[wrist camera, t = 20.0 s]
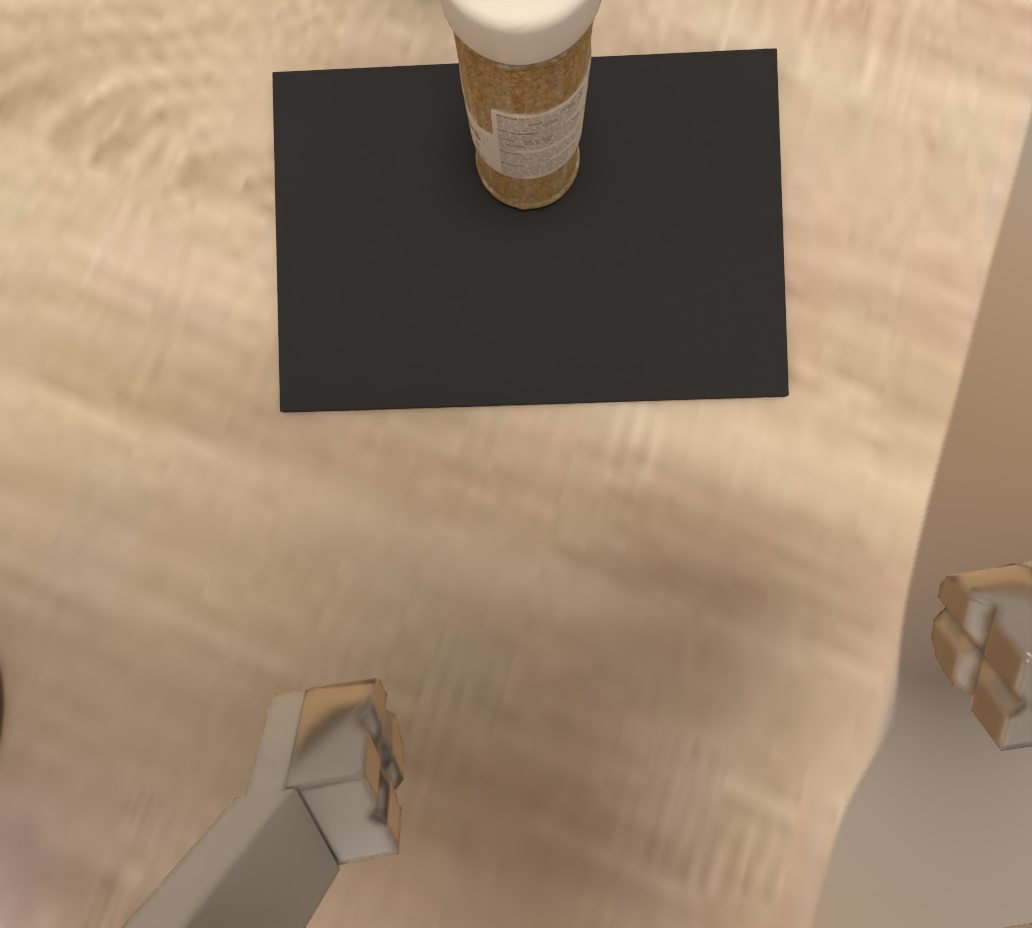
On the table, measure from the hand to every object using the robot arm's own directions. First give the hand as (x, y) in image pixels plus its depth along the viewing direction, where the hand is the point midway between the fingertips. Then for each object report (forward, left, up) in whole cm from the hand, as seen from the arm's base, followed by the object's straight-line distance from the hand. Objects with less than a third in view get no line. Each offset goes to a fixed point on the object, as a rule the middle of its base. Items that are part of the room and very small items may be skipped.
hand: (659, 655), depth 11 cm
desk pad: (-2, +13, -21) cm, 25 cm away
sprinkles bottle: (-2, +16, -21) cm, 27 cm away
